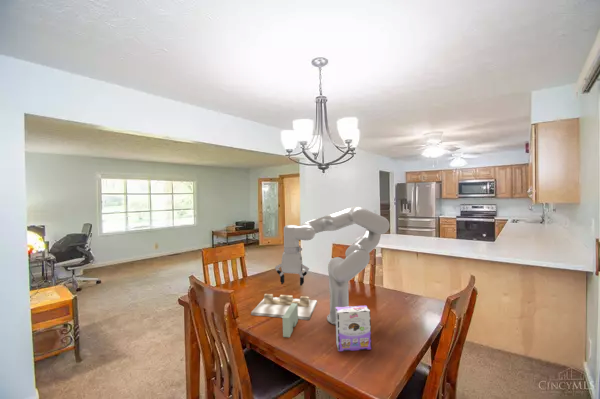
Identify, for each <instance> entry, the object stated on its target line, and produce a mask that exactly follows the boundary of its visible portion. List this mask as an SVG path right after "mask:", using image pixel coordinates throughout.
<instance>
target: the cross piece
mask: <svg viewBox="0 0 600 399" xmlns="http://www.w3.org/2000/svg"><path fill="white" fill-rule="evenodd" d="M281 319H282V337H283V338H291V335H292V334H293V331H294V328H296V326H297V324H298V322H299V319H298V304H297V303H292V304H291V305H290V307H289V308H288V310H287V311H286V313H285V314H284V316H283V317H282V318H281Z"/></svg>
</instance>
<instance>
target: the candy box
mask: <svg viewBox="0 0 600 399" xmlns="http://www.w3.org/2000/svg"><path fill="white" fill-rule="evenodd" d="M335 311H336V325H335V341H336V342H335V343H336V348H337V351H338V352H350V351H353V352H354V351H365V350H372V329H371V321H372V320H371V310H370V309H369V307H368V306H367V305H353V306H351V305H350V306H347V307H335Z"/></svg>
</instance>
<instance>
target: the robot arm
mask: <svg viewBox="0 0 600 399" xmlns="http://www.w3.org/2000/svg"><path fill="white" fill-rule="evenodd" d="M354 224H355V225H358V226H359V227H362V228H364V229H365V231H364V233H363V234H362V235H361V236H360V238H358V239H357V240H356V241H355V242H353V243H351V245H350V246H348V247H347V248H346V250H345V254H344V255H345V258H342V257H339V256H337V257H333V258H332V259H331V260H329V262H328V266H327V272H328V283H329V288H328V289H329V291H328V292H329V314H328V315H327V316H326V321H327V322H328V323H330V324H332V325H334V326H336V311H335V307H347V306H349V281H351V280H352V279H353V278H355V277H356V276H357V275H358V274H359V273H361V272H362V271H363V270H364V269H366V268H367V266H368V265H369V263H370V260H371V255H370V253H371V252H372V251H373V250H374V249H375V248H376V247H378V245H379V243H380V240H381V236H382V235H384V234H386V233H387V232H388V231H389V229H390V227H391V226H390V221H389V220H388V219H387V217H385V216H382V215H379V213H378V214H377V213H376V212H373V211H371V210H369V209H366V208H364V207H362V206H356V205H355V206H354V205H353V206H350V207H348V208H345V209H341V210H340V211H336V212H334V213H330V214H327V215H324V216H321V217H317V218H315V219H311V220H309V221H306V222H303V223H301V224H300V225H297V224H287V225H285V226H283V252H282V254H281V255H282V256H281V263H280V264H278V265H276V266H274V269H275V271H276V274H278V275H279V277H280V279H279V280H280V281H279V282H280V284H281V285H283V284H285V274H297V275H299V276H300V277H299V286H300V287H301V286H303V284H304V283H305V276H306V275H307V274H308V272H309V270H310V268H309V267H308V266H306V265H305V264H303V256H302V252H301V251H303V248H302V247H300V241H310V240H312V239H314V238H315V236H316V234H319V233H321V232H322V233H323V232H334V231H335V232H336V231H339V230H341V229H344V228H347V227H349V226H353V225H354ZM280 268H281V269H280ZM303 270H305V271H304V272H303Z"/></svg>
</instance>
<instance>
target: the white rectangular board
mask: <svg viewBox="0 0 600 399" xmlns="http://www.w3.org/2000/svg"><path fill="white" fill-rule="evenodd" d="M292 303H297V304H298V320H302V321H303V320H305V321H310V319H311V317H312V315H313V313H314V311H315V308H316V305H317V303H318V300H316V299H310V297H309V296H306V295H303V296H302V295H301V296H300V298H294V297H293V295H289V294H280V295H279V297H277V296H275V297H274V294H273V293H264V295H263V299H262V300H261V301H260V302H259V303H258V304H257V306H255V308H253V310H251V312H250V315H251V316H259V317H270V318H271V317H272V318H281V319H283V318H282V317H283V316H284V314H285V313H286V311H287V310H288V308H289V307H290V305H291V304H292Z"/></svg>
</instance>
